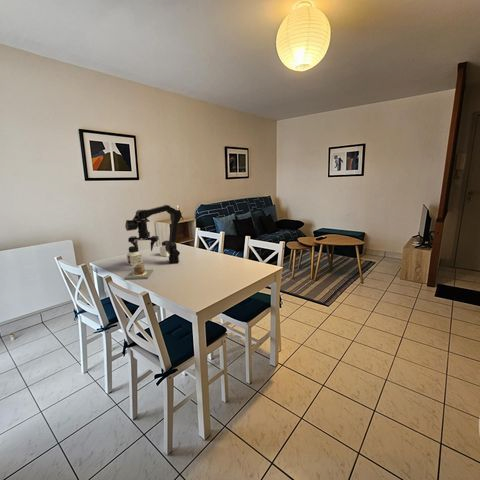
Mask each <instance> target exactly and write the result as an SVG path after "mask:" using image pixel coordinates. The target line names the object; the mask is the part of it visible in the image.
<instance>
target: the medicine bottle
mask: <svg viewBox="0 0 480 480" xmlns="http://www.w3.org/2000/svg"><path fill="white" fill-rule="evenodd" d="M168 241H169V240H161V246H159V255H160V257H166V258H167V257H169V255H170V254H168V252H167V251H166V248H165V246H166V243H168Z"/></svg>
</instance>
